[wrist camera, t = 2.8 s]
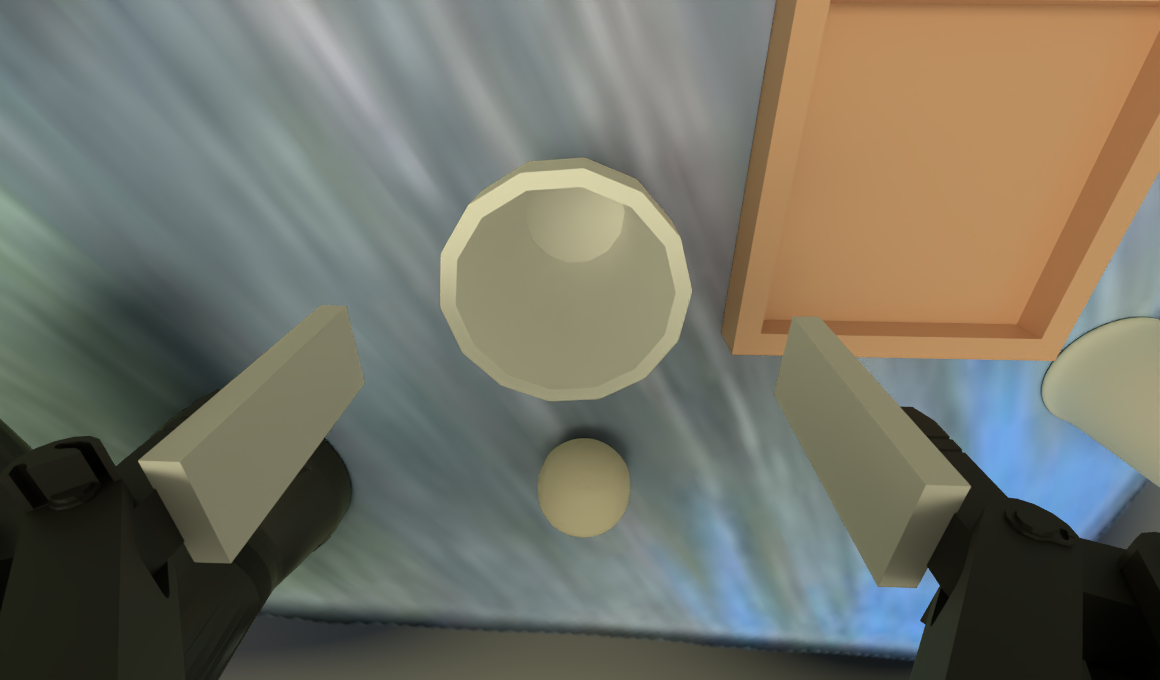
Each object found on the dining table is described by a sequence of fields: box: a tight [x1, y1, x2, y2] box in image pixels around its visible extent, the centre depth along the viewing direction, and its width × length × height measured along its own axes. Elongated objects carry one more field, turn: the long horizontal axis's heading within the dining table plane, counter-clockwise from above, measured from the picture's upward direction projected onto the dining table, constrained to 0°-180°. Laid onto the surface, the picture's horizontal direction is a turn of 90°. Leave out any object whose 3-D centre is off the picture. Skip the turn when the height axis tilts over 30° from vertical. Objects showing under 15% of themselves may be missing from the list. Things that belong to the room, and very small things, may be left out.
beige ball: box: [537, 438, 630, 537], centre depth 36 cm, size 7×7×7 cm
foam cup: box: [440, 157, 692, 401], centre depth 24 cm, size 10×9×13 cm
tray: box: [721, 0, 1160, 361], centre depth 27 cm, size 20×20×3 cm
